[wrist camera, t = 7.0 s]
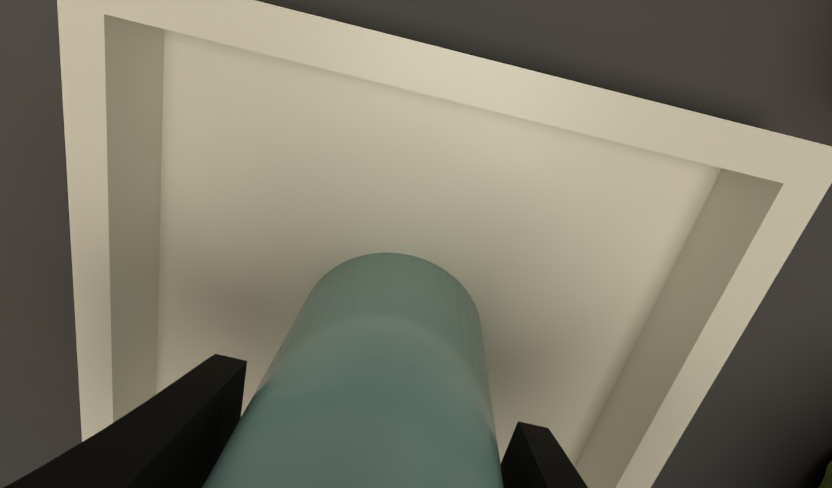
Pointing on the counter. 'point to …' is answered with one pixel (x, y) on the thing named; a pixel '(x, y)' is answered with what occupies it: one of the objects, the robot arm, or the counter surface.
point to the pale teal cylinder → (372, 388)
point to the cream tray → (411, 214)
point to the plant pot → (827, 477)
